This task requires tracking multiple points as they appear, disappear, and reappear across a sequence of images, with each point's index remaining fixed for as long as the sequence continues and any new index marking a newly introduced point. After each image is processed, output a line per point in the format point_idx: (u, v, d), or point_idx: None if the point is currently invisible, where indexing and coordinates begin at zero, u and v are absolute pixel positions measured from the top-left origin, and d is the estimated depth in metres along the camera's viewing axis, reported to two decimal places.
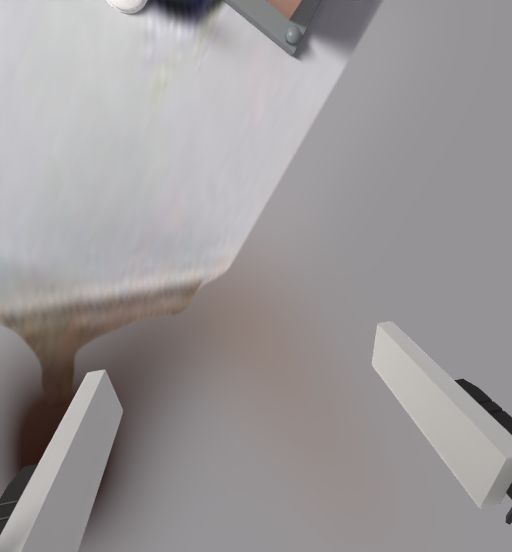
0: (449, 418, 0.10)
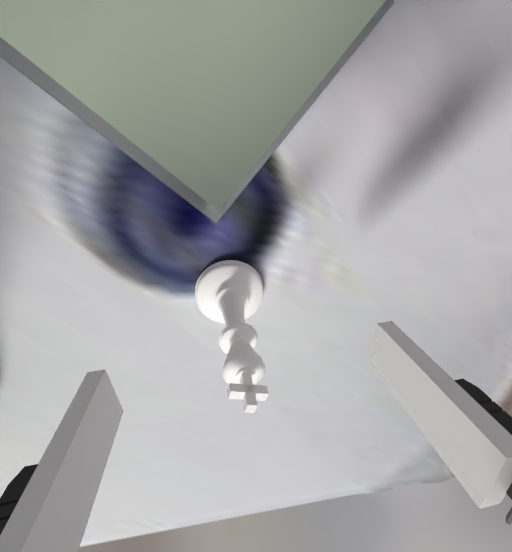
0: (449, 418, 0.10)
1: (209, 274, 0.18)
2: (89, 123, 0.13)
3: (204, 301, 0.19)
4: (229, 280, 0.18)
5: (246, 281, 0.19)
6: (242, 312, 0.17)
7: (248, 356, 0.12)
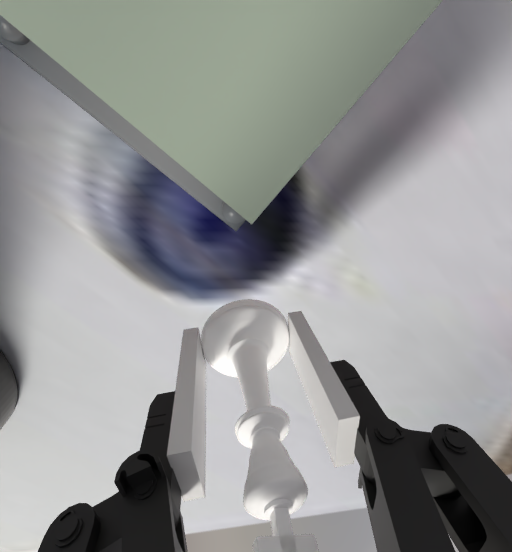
0: (318, 392, 0.11)
1: (220, 319, 0.14)
2: (118, 135, 0.14)
3: (213, 353, 0.14)
4: (247, 328, 0.14)
5: (269, 328, 0.14)
6: (265, 377, 0.12)
7: (284, 480, 0.08)
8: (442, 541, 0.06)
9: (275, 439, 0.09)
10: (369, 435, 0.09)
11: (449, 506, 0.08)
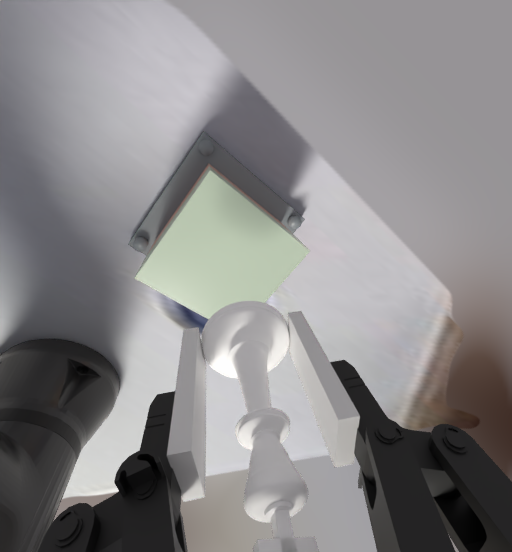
0: (318, 392, 0.11)
1: (221, 321, 0.14)
2: None
3: (213, 354, 0.14)
4: (247, 329, 0.14)
5: (269, 329, 0.14)
6: (266, 379, 0.12)
7: (284, 482, 0.08)
8: (442, 541, 0.06)
9: (275, 441, 0.09)
10: (369, 435, 0.09)
11: (449, 506, 0.08)
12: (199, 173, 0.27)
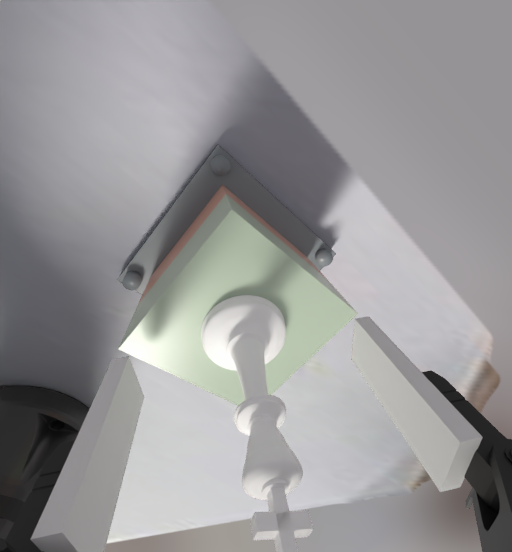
0: (414, 407, 0.10)
1: (220, 314, 0.14)
2: None
3: (213, 347, 0.15)
4: (245, 323, 0.14)
5: (266, 322, 0.15)
6: (263, 369, 0.13)
7: (280, 461, 0.09)
8: None
9: (272, 425, 0.10)
10: (497, 453, 0.08)
11: None
12: (210, 196, 0.22)
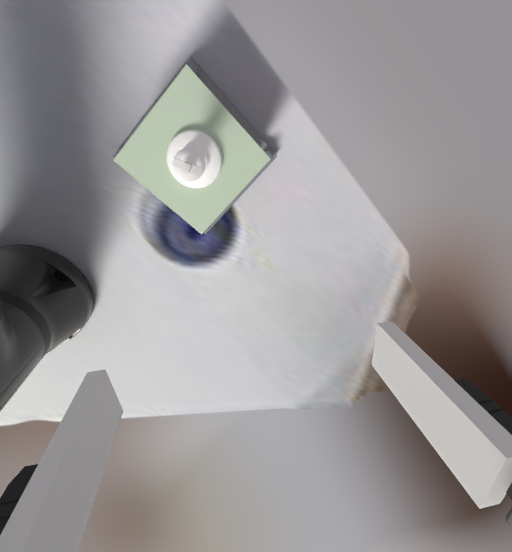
0: (449, 418, 0.10)
1: (177, 136, 0.23)
2: None
3: (173, 160, 0.24)
4: (193, 143, 0.23)
5: (207, 146, 0.24)
6: None
7: (191, 150, 0.17)
8: None
9: None
10: None
11: None
12: None
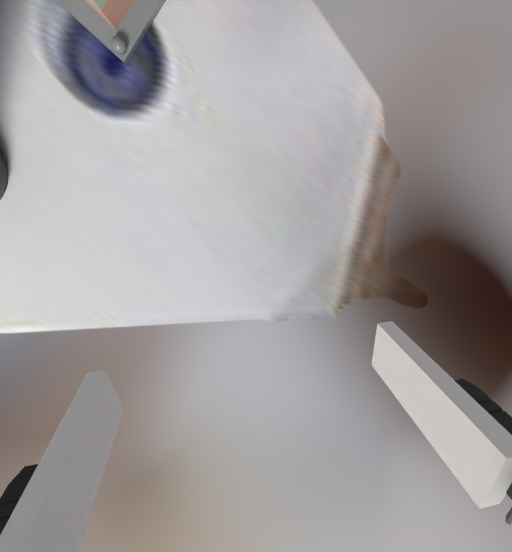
0: (449, 418, 0.10)
1: None
2: None
3: None
4: None
5: None
6: None
7: None
8: None
9: None
10: None
11: None
12: None
